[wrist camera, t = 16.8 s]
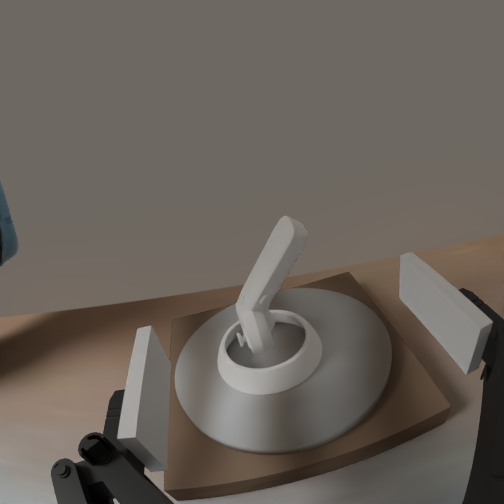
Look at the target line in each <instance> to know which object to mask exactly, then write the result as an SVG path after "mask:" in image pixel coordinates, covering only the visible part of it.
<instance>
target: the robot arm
mask: <svg viewBox="0 0 504 504" xmlns="http://www.w3.org/2000/svg"><path fill="white" fill-rule="evenodd" d="M17 250H18V239H17V236H16V232H15V228H14V225H13V222H12V220H11V215H10V212H9V208H8V205H7V201H6V198H5V194H4V191H3V188H2V185H1V182H0V266H2V265H3V264H4V262H6V261H7V260H9V259H10V258H12V257H13V256H14V255H15V254H16V253H17ZM399 298H400V299H401V300H402V302H403V303H404V304H405V305H406V306H407V307H408V308H409V309H410V310H411V311H412V313H413V314H414V315H415V316H416V317H417V318H418V319H419V320H420V321H421V323H422V324H423V325H424V326H425V327H426V328H427V329H428V330H429V332H430V333H431V334H432V335H433V336H434V337H435V338H436V340H437V341H438V342H439V343H440V344H441V345H442V347H443V348H444V349H445V350H446V351H447V353H448V354H449V355H450V356H451V357H452V358H453V360H454V361H455V362H456V363H457V364H458V366H459V367H460V368H461V369H462V371H463V372H464V373H465V374H466V375H467V374H469V373H471V372H472V371H474V370H476V369H477V368H479V365H480V362H481V359H483V361H484V362H485V363H486V364H485V367H484V370H483V372H482V375H481V378H480V380H482V379H483V376H484V382H483V395H482V406H481V415H480V423H479V430H478V437H477V443H476V449H475V454H474V459H473V464H472V469H471V474H470V478H469V482H468V486H467V490H466V494H465V498H464V501H463V503H462V504H504V320H503V319H502V318H501V317H500V316H499V315H498V314H497V313H496V312H494V311H493V310H492V309H491V308H490V307H489V306H488V305H487V304H484V302H483V301H482V300H481V299H479V298H478V297H477V296H476V295H475V294H474V293H473V292H471V291H469V290H466V289H464V288H462V289H460V290H457V289H456V288H455V287H454V286H453V285H451V284H450V283H449V282H448V281H447V280H446V279H444V278H443V277H442V276H441V275H440V274H438V273H437V272H436V271H435V270H434V269H432V268H431V267H430V266H429V265H428V264H426V263H425V262H424V261H423V260H421V259H420V258H419V257H418V256H416V255H415V254H414V253H413V252H409V253H406V254H403V255H400V287H399ZM170 375H171V362H170V361H169V359H168V357H167V355H166V353H165V351H164V349H163V347H162V345H161V344H160V342H159V340H158V338H157V336H156V334H155V332H154V330H153V328H152V326H146V327H142V328H138V329H137V333H136V338H135V342H134V347H133V352H132V357H131V361H130V366H129V371H128V377H127V382H126V387H125V389H124V390H118V391H115V392H114V394H113V395H112V397H111V399H110V401H109V406H108V411H107V416H106V417H107V418H106V421H105V426H104V431H103V434H101V433H97V432H94V433H90V434H88V435H86V436H85V437H84V438H83V439H82V440H81V442H80V444H79V448H78V451H79V454H80V456H81V457H82V458H83V459H85V460H84V461H81V462H78V463H74V462H73V461H71V460H70V459H66V458H64V459H60V460H59V461H57V462H56V463H55V464H54V465H53V467H52V470H51V477H52V482H53V486H54V490H55V494H56V498H57V502H58V504H114V502H113V499H114V498H116V499H117V501H118V502H119V503H120V504H174V503H173V502H172V501H171V500H170V499H169V498H168V497H167V496H166V495H165V494H164V493H163V492H162V491H161V490H160V489H159V488H158V487H157V486H156V485H155V484H154V483H153V482H152V481H151V480H150V479H149V478H148V477H147V476H146V475H145V474H144V467H146V468H147V469H148V470H149V471H150V472H155V471H166V470H168V418H169V394H170Z"/></svg>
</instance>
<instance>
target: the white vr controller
mask: <svg viewBox="0 0 504 504" xmlns="http://www.w3.org/2000/svg"><path fill="white" fill-rule="evenodd" d="M307 238H308V234H307V230H306V229H305V227H304V226H303V225H302V224H301V223H300V222H298V221H296V220H294V219H292V218H290V217H288V216H283V217H282V218H281V219H280V220H279V222H278V223H277V225H276V227H275V228H274V230H273V232H272V234H271V236H270V238H269V240H268V242H267V243H266V245H265V247H264V249H263V251H262V253H261V254H260V256H259V258H258V260H257V262H256V264H255V266H254V268H253V269H252V271H251V273H250V275H249V277H248V279H247V281H246V282H245V284H244V286H243V288H242V290H241V293H240V295H239V298H238V300H237V302H236V304H235V306H236V312H237V315H238V318H239V321H237V322H236V323H235V324H233V325H232V326H231V327H230V328H229V329H228V330H227V332H226V333H225V334H224V336H223V338H222V341H221V344H220V347H219V353H218V360H217V363H218V370H219V373H220V375H221V377H222V378H223V379H224V381H225V382H226V383H227V384H228V385H230V386H231V387H232V388H234V389H236V390H238V391H240V392H243V393H248V394H252V395H268V394H276V393H279V392H283V391H286V390H289V389H291V388H293V387H295V386H297V385H299V384H300V383H302V382H303V381H304V380H306V379H307V378H308V377H309V376H310V375H311V374H312V373H313V372H314V371H315V369H316V368H317V366H318V365H319V362H320V359H321V357H322V343H321V340H320V338H319V336H318V334H317V332H316V331H315V330H314V328H313V327H312V326H311V325H310V324H309V323H308V322H307V321H306V320H305V319H304V318H302V317H301V316H299V315H298V314H295V313H293V312H290V311H285V310H269V309H268V307H269V305H270V303H271V300H272V299H273V297H274V295H275V294H276V293H277V292H278V290H279V288H280V287H281V285H282V283H283V282H284V280H285V278H286V277H287V275H288V273H289V272H290V270H291V268H292V267H293V265H294V263H295V262H296V260H297V258H298V256H299V255H300V253H301V251H302V250H303V248H304V245H305V244H306V242H307ZM279 322H282V323H290V324H294V325H298V326H300V327H302V328H304V329H305V333H306V337H305V341H304V344H303V346H302V347H301V349H300V350H299V351H298V352H297V353H296V354H295V355H294V356H293V357H292V358H290V359H289V360H287V361H286V362H283V363H281V364H279V365H276V366H272V367H268V368H248V367H244V366H241V365H238V364H237V363H235V362H234V361H232V360H231V358H230V357H229V356H228V354H227V352H226V350H227V348H228V346H229V345H230V343H231V342H232V341H233V340H234V339H235V338H236V337H238V340H239V343H240V346H241V347H243V345H244V343H243V342H247V344H248V347H249V348H251V350H252V352H253V354H257V353H264V352H266V351H268V350H269V349H271V348H272V347H273V346H274V342H273V338H272V334H271V331H272V329H273V328H274V325H275V323H279ZM242 333H244V335H240V334H242Z"/></svg>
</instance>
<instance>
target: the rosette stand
mask: <svg viewBox="0 0 504 504" xmlns="http://www.w3.org/2000/svg"><path fill="white" fill-rule="evenodd" d="M235 304H236V303H235ZM235 304H233V305H229V306H225V307H221V308H217V309H213V310H209V311H205V312H202V313H198V314H193V315H189V316H185V317H181V318H177V319H173V324H172V335H171V346H170V359H169V361H170V362H171V375H170V394H169V418H168V470H166V471H164V491H166V492H167V493H168V494H169V495H171V496H172V497H173V498H174V499H176V500H177V501H180V500H192V499H202V498H210V497H218V496H225V495H232V494H238V493H244V492H249V491H254V490H259V489H264V488H269V487H273V486H278V485H282V484H286V483H290V482H294V481H298V480H302V479H305V478H309V477H312V476H316V475H319V474H322V473H326V472H329V471H332V470H335V469H338V468H341V467H344V466H347V465H350V464H352V463H355V462H358V461H361V460H363V459H366V458H369V457H371V456H374V455H376V454H379V453H381V452H383V451H386V450H388V449H390V448H393V447H395V446H397V445H400V444H402V443H404V442H406V441H408V440H410V439H413V438H415V437H417V436H419V435H421V434H423V433H425V432H427V431H429V430H431V429H433V428H435V427H436V426H438V425H440V424H442V423H444V422H445V420H446V417H447V415H448V413H449V410H450V408H451V405H450V404H449V402H448V401H447V399H446V398H445V396H444V395H443V394H442V392H441V391H440V389H439V388H438V387H437V385H436V384H435V382H434V381H433V380H432V378H431V377H430V376H429V374H428V373H427V371H426V370H425V369H424V367H423V366H422V365H421V363H420V362H419V361H418V359H417V358H416V357H415V355H414V354H413V353H412V351H411V350H410V349H409V347H408V346H407V345H406V343H405V342H404V341H403V339H402V338H401V337H400V335H399V334H398V333H397V331H396V330H395V329H394V328H393V326H392V325H391V324H390V322H389V321H388V320H387V319H386V317H385V316H384V315H383V314H382V312H381V311H380V310H379V308H378V307H377V306H376V305H375V303H374V302H373V301H372V300H371V298H370V297H369V296H368V295H367V293H366V292H365V291H364V290H363V289H362V287H361V286H360V285H359V284H358V282H357V281H356V280H355V279H354V278H353V276H352V275H351V274H350V273H349V272H346V273H343V274H339V275H336V276H333V277H329V278H326V279H323V280H319V281H316V282H312V283H309V284H305V285H302V286H298V287H295V288H291V289H283V290H278V292H277V293H276V294H275V295H274V297H273V299H272V300H271V303H270V305H269V307H268V309H269V310H285V311H290V312H293V313H295V314H298V315H299V316H301V317H302V318H304V319H305V320H306V321H307V322H308V323H309V324H310V325H311V326H312V327H313V328H314V330H315V331H316V332H317V334H318V336H319V338H320V340H321V343H322V357H321V359H320V362H319V365H318V366H317V368H316V369H315V371H314V372H313V373H312V374H311V375H310V376H309V377H308V378H307V379H306V380H304V381H303V382H302V383H300V384H299V385H297V386H295V387H293V388H291V389H289V390H286V391H283V392H279V393H276V394H268V395H252V394H248V393H243V392H240V391H238V390H236V389H234V388H232V387H231V386H230V385H228V384H227V383H226V382H225V381H224V379H223V378H222V377H221V375H220V373H219V370H218V363H217V360H218V353H219V347H220V344H221V341H222V338H223V336H224V334H225V333H226V332H227V330H228V329H229V328H230V327H231V326H232V325H233V324H235V323H236V322H237V321H239V318H238V315H237V312H236V306H235ZM271 334H272V338H273V342H274V346H273V347H272V348H271V349H269V350H268V351H266V352H264V353H257V354H253V352H252V350H251V348H249V347H248V344H247V342H243V343H244V345H243V347H241V346H240V343H239V340H238V337H236V338H235V339H234V340H233V341H232V342H231V343H230V345H229V346H228V348H227V350H226V352H227V354H228V356H229V357H230V358H231V360H232V361H234V362H235V363H237V364H238V365H241V366H244V367H248V368H268V367H272V366H276V365H279V364H281V363H283V362H286V361H287V360H289V359H290V358H292V357H293V356H294V355H295V354H296V353H297V352H298V351H299V350H300V349H301V347H302V346H303V344H304V341H305V337H306V333H305V329H304V328H302V327H300V326H298V325H294V324H290V323H282V322H279V323H275V325H274V328H273V329H272V331H271ZM240 335H244V333H242V334H240Z"/></svg>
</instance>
